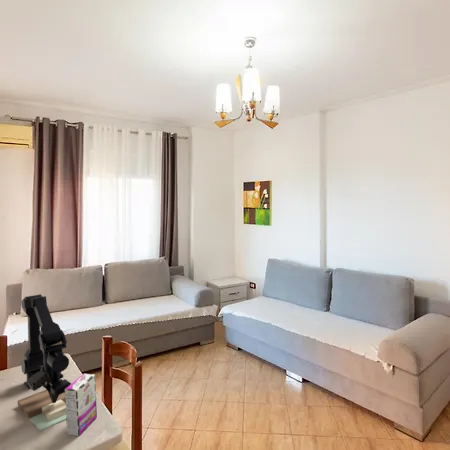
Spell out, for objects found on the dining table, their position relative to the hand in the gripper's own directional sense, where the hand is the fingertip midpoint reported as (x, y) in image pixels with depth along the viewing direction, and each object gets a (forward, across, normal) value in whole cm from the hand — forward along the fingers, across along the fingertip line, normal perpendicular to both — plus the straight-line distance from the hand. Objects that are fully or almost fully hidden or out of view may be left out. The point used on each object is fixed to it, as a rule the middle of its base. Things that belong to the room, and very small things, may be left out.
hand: (53, 402), depth 132 cm
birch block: (+3, +2, 0) cm, 4 cm away
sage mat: (+4, +3, 0) cm, 5 cm away
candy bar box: (+4, +16, +3) cm, 17 cm away
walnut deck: (+4, -8, 0) cm, 9 cm away
